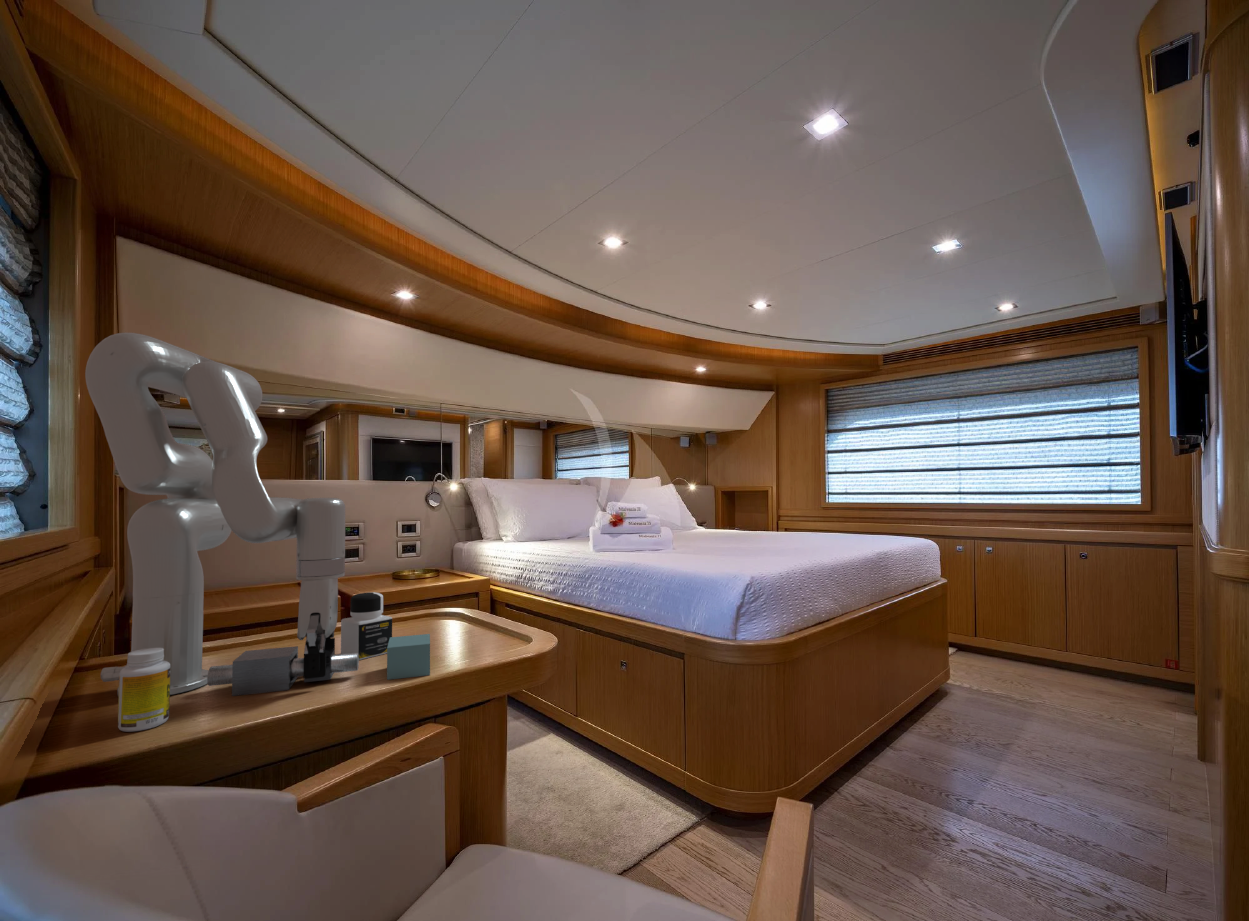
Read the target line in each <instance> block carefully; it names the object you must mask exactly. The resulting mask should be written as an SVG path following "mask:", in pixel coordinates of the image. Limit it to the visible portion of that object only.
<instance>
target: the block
mask: <svg viewBox="0 0 1249 921" xmlns="http://www.w3.org/2000/svg"><path fill="white" fill-rule="evenodd" d="M386 655H387V656H386V680H388V681H389V680H390V681H391V680H396V679H407V678H415V677H425V676H430V675H431V633H425V634H424V633H423V634H412V635H403V636H402V635H400V636H392V637H390V639H389V643H388V647H387V654H386Z"/></svg>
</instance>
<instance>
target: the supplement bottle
mask: <svg viewBox="0 0 1249 921" xmlns="http://www.w3.org/2000/svg"><path fill="white" fill-rule="evenodd" d="M163 659H164V649H163V648H147V649H141V650H136V651H133V652H131V651H130V652H128V654H127V661H126V662H127V663H126V665H128V666H127V667H125V668H123V669H122V670H121V671H120V674H119V680H118V687H119V696H118V705H117V708H118V709H117V728H118V729H119V730H120V731H122V732H128V733H131V732H140V731H145V730H149V729H153V728H155V727H158V726H161V725H163V724H164V723H166V722H167V721H168V720H169V717H170V700H171V699H170V698H171V697H170V696H171V695H170V663H169V662H167V661H162V660H163Z"/></svg>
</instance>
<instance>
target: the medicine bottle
mask: <svg viewBox="0 0 1249 921" xmlns="http://www.w3.org/2000/svg"><path fill="white" fill-rule="evenodd" d="M383 613H384V595H383V594H382V593H380V592H374V591H373V592H370V591H369V592H360V593H356V594H354V595H352V596H351V597H350V616H351V617H347V618H346V617H345V618H342V619H341V621H340V654H348V653H359V661H362V660H365V659H366V660H367V659H370V658H375V657H378V656H382V655H387V647H388V643H389V639H390V637H393V617H392V616H389V615H384V614H383Z"/></svg>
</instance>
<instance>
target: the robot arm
mask: <svg viewBox="0 0 1249 921" xmlns="http://www.w3.org/2000/svg"><path fill="white" fill-rule="evenodd" d="M84 375H85V384H86V388H87V390H88V391H87V392H88V394H89V397H90V399H91V401H92V403H93V405H94V408H95V411H96V413H97V414H98V417H99V419H100V422H101V425H102V427H103V431H104V435H105V438H106V441H107V443H108V447H109V450H110V452H111V456H112V459H113V462H114V464H115V467H116V471H117V473H118V476H119V478H120V480H121V482H122V484H123V485H124V487H125V488H126V489H128V490H129V491H131V492H133V493H136V494H141V495H149V496H150V495H151V496H152V495H153V496H156V495H157V496H166V497H167V498H163V499H157V500H154V501H150V502H148V503H145V504H143V505H142V506H141V507H139V508H137V510H135V512H134V513H133V514H132V516H131V518H130V519H129V521H128V524H127V529H126V530H127V532H126V533H127V534H126V535H127V536H126V537H127V542H128V548H129V551H130V557H131V564H132V616H131V620H132V621H131V622H132V623H131V645H130V646H131V650H130V652H133V651H136V650H141V649H147V648H163V649H164V659H163V660H162V661H167V662H169V663H170V696H173V695H176V694H181V693H185V692H188V691H193V690H196V689H198V688H201V687H203V686H205V685H208V683H207V676H208V671H209V669H203V644H204V643H203V639H204V637H203V635H204V599H205V598H204V594H205V593H204V592H205V587H204V586H205V581H204V580H205V576H204V569H203V565H202V562H201V559H200V556H199V551H206V550H207V551H208V550H210V549H215V548H217V547H219V546H220V545H222V544H223V543H225V542H226V541H227V539H228V538H229V537H230V535H231V533H232V532H233V533H234V534H235V535H236V536H237V537H238V538H239V539H241V540H242V541H244V542H246V543H251V544H263V543H264V544H265V543H269V542H279V541H284V540H285V541H286V540H290V539H296V562H295V563H296V564H295V565H296V569H295V571H296V572H295V573H296V574H295V579H296V580H297V581H301V582H300V591H299V599H298V614H297V615H298V617H297V618H298V619H297V632H296V633H297V635H296V636H297V639H298V640H299V641H303V640H304V639H305V643H304V652H303V658H304V676H303V679H304V678H305V679H309V678H318V677H324V676H325V675H326V651H324V650H331V649H335V650H336V647H335V646H336V638H335V629H336V627H337V624H338V606H339V605H338V604H339V599H338V598H339V580H338V579H339V578H342V577H345V575H346V504H345V502H344V500H343V499H340V498H337V497H310V498H309V497H307V498H304V499H303V498H293V497H279V496H276V497H275V496H274V497H271V496H269V494H268V492H267V490H266V488H265V486H264V484H263V482H262V480H261V478H260V474H259V472H258V467H257V459H258V455H259V453H260V451H261V450H262V449H263V448H264V447H265V446H266V445H267V443H268V435H267V433H266V431H265V429H264V427H263V425H262V422H261V421H260V419H259V417H258V414H257V412H256V411H257V410H258V409H259V408H260V406H261V404H262V400H263V390H262V387H261V385H260V383H259V381H258V380H257V379H256V378H255V377H254V376H253V375H251V374H250V373H248V372H246V371H244V370H241V369H238V368H236V367H234V366H230V365H228V364H226V363H222V362H218V361H216V360H213V359H210V358H208V357H205V356H203V355H200V354H198V353H196V352H193V351H190V350H188V349H185V348H183V347H180V346H177V345H174V344H172V343H169V342H166V341H164V340H161V339H159V338H156V337H153V336H150V335H147V334H142V333H136V332H119V333H114V334H111V335H109V336H107V337H105V338H104V339H102V340H101V341H100V342H99V343H98V344H97V345H96V346H94V348H93V350H92V351H91V353H90V354H89V357H88V359H87V362H86V366H85V374H84ZM149 388H151V389H155V390H160V391H164V392H168V393H171V394H174V395H177V396H180V397H183V398H184V399H185V398H186V400H187V401H188V404H189V407H190V409H191V411H192V412H193V415H194V417H195V419H196V421H197V423H198V425H199V427H200V429H201V432H202V433H203V435H204V437H205V440H206V442H207V444H208V447H209V448H210V451H211V453H212V456H213V457H212V458H211V457H210V456H209V454H207V453H206V452H205V451H204V450H203V449H202V448H200V447H197V446H194V445H191V444H188V443H187V444H186V443H180V442H178V441H176V440H175V438H174V436H173V434H172V432H171V429H170V428H169V425H168V424H169V423H168V420H167V417H166V414H165V413H164V411H163V409H162V407H161V406H160V404H159V403H158V401H156V399H155V398H154V396H152V394H151V392H150V389H149ZM127 666H128V665H127V664H126V665H124V666H110V667H103V668H102V670H101V672H100V679H101V680H102V682H103V683H107V682H115V681H119V674H120V671H121V670H122V669H123V668H125V667H127ZM117 697H119V686H118V687H117Z"/></svg>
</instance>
